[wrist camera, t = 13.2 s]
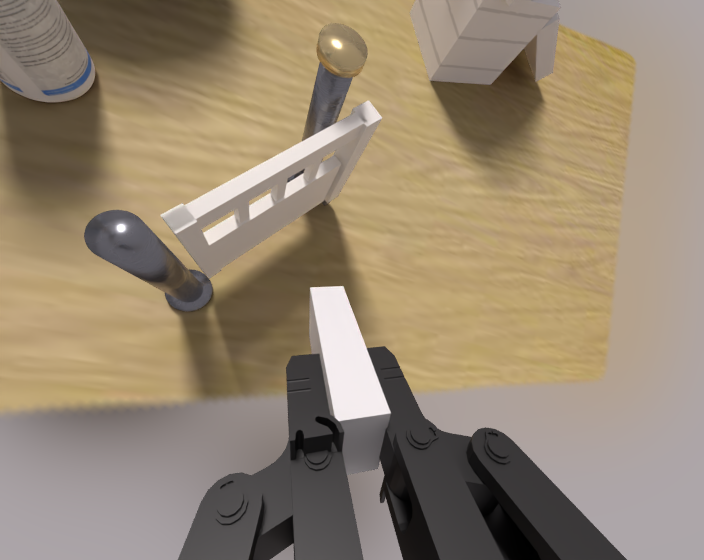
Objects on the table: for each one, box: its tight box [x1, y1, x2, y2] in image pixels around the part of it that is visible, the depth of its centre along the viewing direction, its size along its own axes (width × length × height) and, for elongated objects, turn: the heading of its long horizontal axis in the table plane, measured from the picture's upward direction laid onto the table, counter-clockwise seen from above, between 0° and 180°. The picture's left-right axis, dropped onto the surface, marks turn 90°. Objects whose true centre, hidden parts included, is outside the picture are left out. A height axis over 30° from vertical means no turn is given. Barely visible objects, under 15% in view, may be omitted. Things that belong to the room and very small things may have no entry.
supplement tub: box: [0, 0, 95, 102], centre depth 29 cm, size 10×10×15 cm
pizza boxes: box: [410, 0, 561, 85], centre depth 52 cm, size 19×30×18 cm, turn 104°
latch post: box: [287, 23, 368, 183], centre depth 33 cm, size 5×5×21 cm
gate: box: [160, 100, 382, 279], centre depth 31 cm, size 20×2×18 cm, turn 131°
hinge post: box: [84, 210, 213, 312], centre depth 26 cm, size 5×5×20 cm
